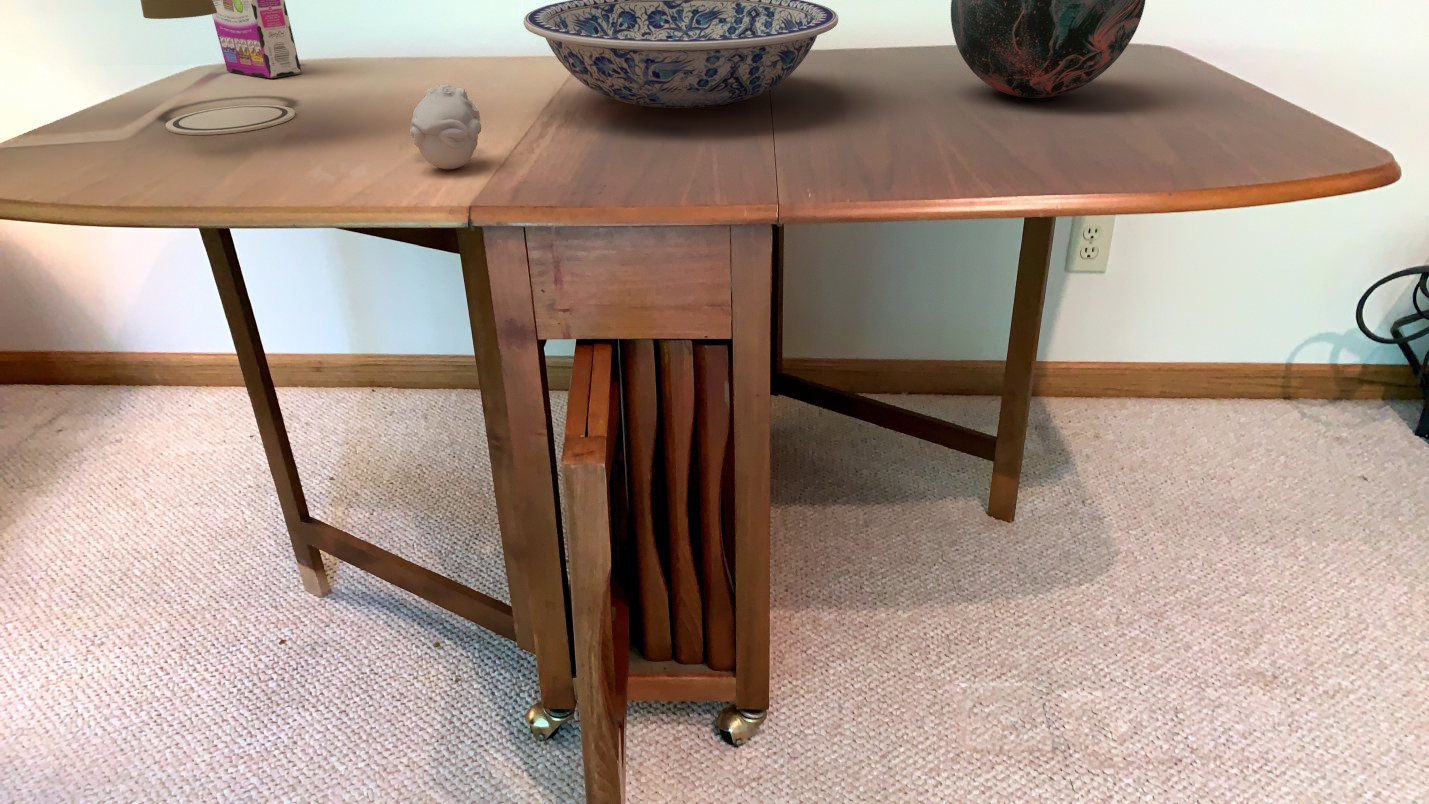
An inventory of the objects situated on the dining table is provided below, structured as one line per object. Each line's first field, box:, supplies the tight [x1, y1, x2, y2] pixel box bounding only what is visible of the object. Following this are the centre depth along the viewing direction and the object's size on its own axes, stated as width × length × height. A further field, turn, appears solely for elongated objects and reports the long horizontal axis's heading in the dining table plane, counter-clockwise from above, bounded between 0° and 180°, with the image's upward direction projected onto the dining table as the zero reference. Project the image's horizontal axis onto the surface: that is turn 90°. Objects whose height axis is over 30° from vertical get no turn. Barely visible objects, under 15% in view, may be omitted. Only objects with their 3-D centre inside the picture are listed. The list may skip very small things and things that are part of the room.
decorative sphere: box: [950, 0, 1146, 99], centre depth 97 cm, size 20×20×20 cm
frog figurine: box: [409, 84, 482, 170], centre depth 79 cm, size 6×7×7 cm
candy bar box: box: [211, 0, 302, 79], centre depth 119 cm, size 11×5×16 cm, turn 55°
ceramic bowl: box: [523, 0, 839, 109], centre depth 100 cm, size 34×34×10 cm
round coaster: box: [165, 104, 296, 136], centre depth 98 cm, size 13×13×1 cm
